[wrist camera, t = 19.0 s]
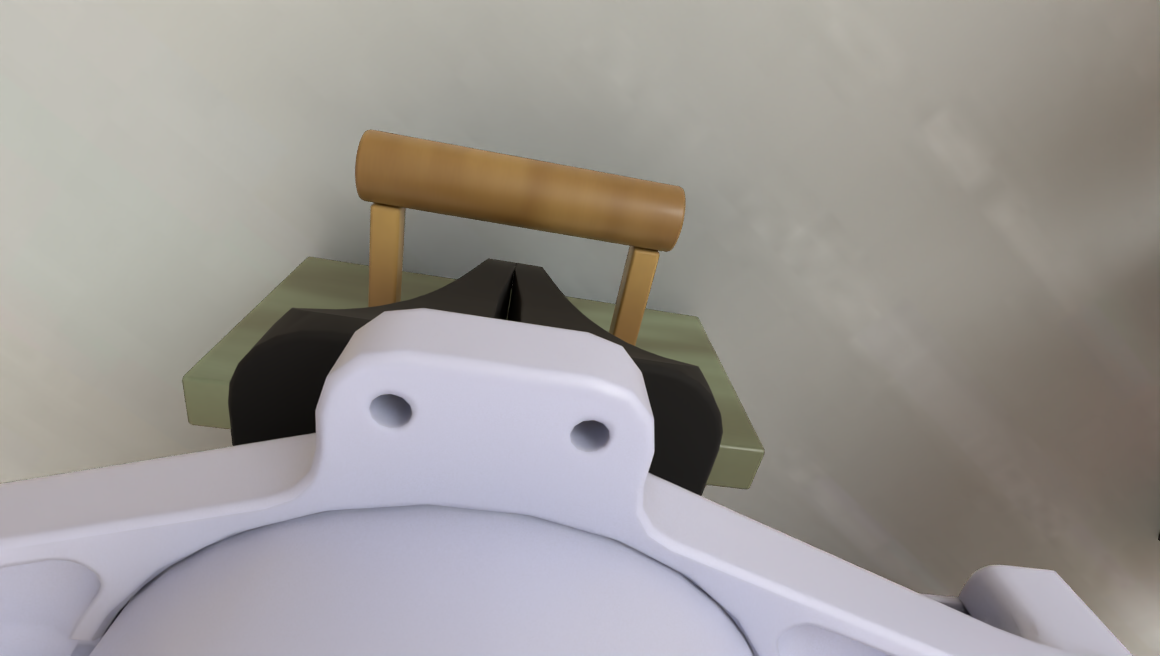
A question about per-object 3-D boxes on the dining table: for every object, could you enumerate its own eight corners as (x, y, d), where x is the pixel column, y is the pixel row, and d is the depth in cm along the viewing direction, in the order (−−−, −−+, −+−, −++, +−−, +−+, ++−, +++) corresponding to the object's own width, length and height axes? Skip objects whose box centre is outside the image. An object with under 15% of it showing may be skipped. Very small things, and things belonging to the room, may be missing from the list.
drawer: (302, 79, 15) (139, 115, 9) (746, 165, 16) (857, 244, 11) (316, 563, 23) (236, 748, 17) (610, 590, 25) (630, 768, 19)
